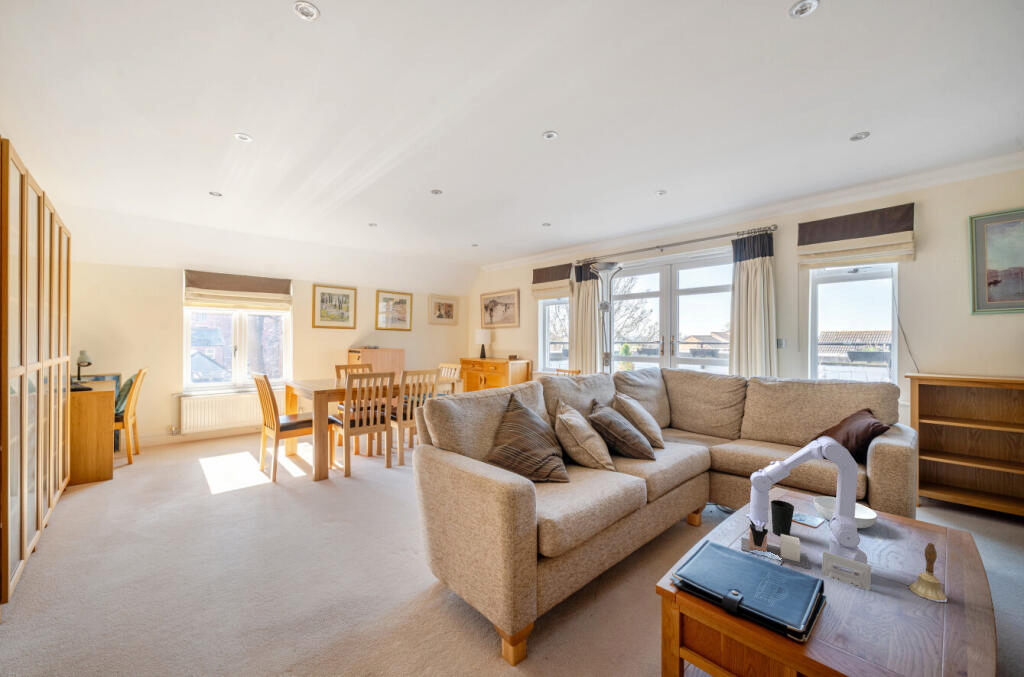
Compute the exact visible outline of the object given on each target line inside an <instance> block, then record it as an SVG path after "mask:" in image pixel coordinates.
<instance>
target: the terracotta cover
mask: <svg viewBox="0 0 1024 677" xmlns="http://www.w3.org/2000/svg"><path fill="white" fill-rule="evenodd" d="M748 539H749V548H751V549H754V550H758V551H763V552H766V549H767V544H768V533H767V534H766V535H765V537H764V540H763V543H762V546H761V547H759V546H755V545H754V540H753V534H752V531H751V529H750V525H749V528H748Z"/></svg>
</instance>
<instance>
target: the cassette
mask: <svg viewBox="0 0 1024 677" xmlns="http://www.w3.org/2000/svg"><path fill="white" fill-rule="evenodd" d="M834 565H837V566H838V567H835V566H834ZM840 566H841V567H844V568H847V569H850V570H852V572H849V571H846V570H843V569H840ZM855 572H858V574H856V573H855ZM821 574H822V576H825V577H828V579H829V578H830V579H833V580H835V581H838V582H841V583H844V584H847V585H851V586H853V587H855V588H859V589H863V590H865V591H866V590H867V591H868V592H869V591H871V584H872V583H871V577H872V565H870V564H868V563H867V564H864V563H860V562H857V561H854V560H851V559H847V558H844V557H841V556H838V555H835V554H831V553H829V551H824V550H823V552H822V561H821Z"/></svg>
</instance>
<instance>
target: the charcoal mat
mask: <svg viewBox="0 0 1024 677" xmlns="http://www.w3.org/2000/svg"><path fill="white" fill-rule="evenodd" d="M740 539H741V541H740V542H741V544H740V545H741V546H740V551H742V552H746V553H749V552H750V551H753V550H754V549H751V548H749V538H745V537H741V538H740ZM766 551H767V552H771V553H773V554H775V555H778V556H779V557H780V558H782V559H781V560H782V561H784V562H783V563H787V564H790V565H794V566H798V567H801V568H805V569H808V570H809V569H810V566H809V562H808V557H807V555H806V553H803V552H800V562H798V561H794V560H790V559H787V558H783V557H781V554H780V546H776V545H773V544H768V543H767V549H766ZM782 561H781V562H782Z"/></svg>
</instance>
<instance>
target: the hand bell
mask: <svg viewBox="0 0 1024 677" xmlns="http://www.w3.org/2000/svg"><path fill="white" fill-rule="evenodd" d="M937 554H938V553H937V550H936V548H935V544H934V543H932V542H928V543H927V545H926V547H925V548H924V559H925V561H926V562H925V563H926V564H925V572H920V573H919V574H918V577H917V580H916V581H915V582H914V583H911V584H910V585H909V586H908V588H909V590H910V591H911V592H912V593H914V594H915V595H917V596H919V597H920V596H921V597H920V598H923V597H925V598H928V599H933V600H945V599H946V597H947V596H946V594H944V592H943V590H942V588H941V581H940V579H939V578H938V577H936V576H935V574H934V572H935V571H934V567H935V566H934V565H935V563H936V561H937V558H938V557H937V556H938V555H937ZM925 598H924V599H925Z"/></svg>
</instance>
